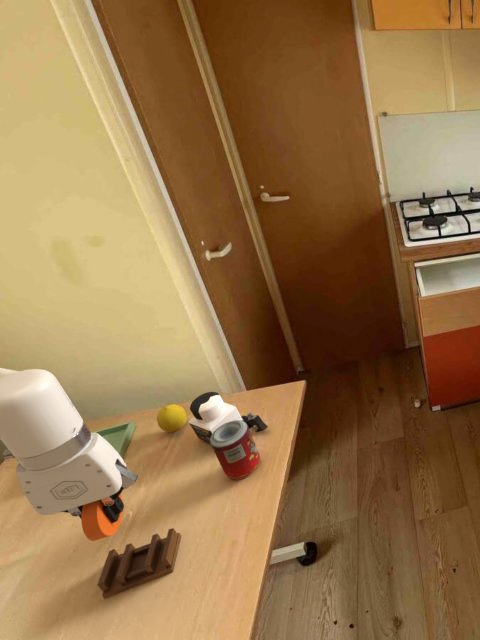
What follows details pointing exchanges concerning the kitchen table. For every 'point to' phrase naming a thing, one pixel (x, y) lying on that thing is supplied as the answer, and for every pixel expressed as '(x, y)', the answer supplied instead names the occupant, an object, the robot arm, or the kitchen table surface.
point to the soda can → (235, 449)
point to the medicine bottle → (211, 414)
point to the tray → (118, 436)
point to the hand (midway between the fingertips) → (107, 517)
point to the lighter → (254, 422)
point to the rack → (139, 564)
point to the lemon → (171, 418)
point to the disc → (98, 521)
